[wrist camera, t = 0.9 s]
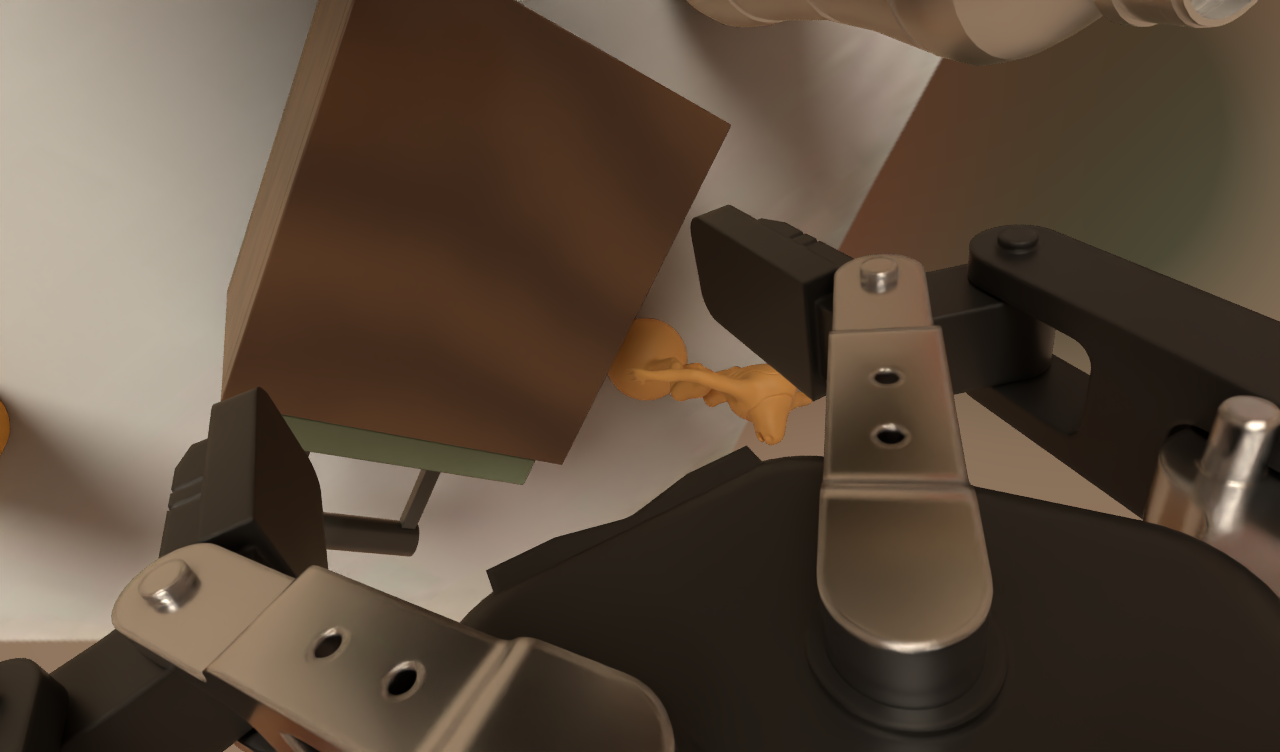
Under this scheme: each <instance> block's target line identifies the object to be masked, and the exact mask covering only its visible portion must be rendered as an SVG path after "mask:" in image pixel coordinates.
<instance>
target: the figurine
mask: <svg viewBox="0 0 1280 752" xmlns="http://www.w3.org/2000/svg"><path fill="white" fill-rule="evenodd" d="M608 375H609V378H610V379H611V381H612V383H613V384H614V385H615V386H616V388H617V389H618V390H620V391H621V392H622V393H624V394H625V395H627V396H629V397H631V398H634V399H638V400H655V399H658V398H661V397H664V396H666V395H667V394H669V393H670V392H671V396H672V398H673V399H675V400H677V401H685V400H687V399H691V398H701V397H703V399H704V401H705V403H706V404H707V405H708V406H709V407H714V406H716V405H718V404H720V403H724V402H728V403H729V406H730V408H731V409H732V411H733V412H734V413H735V414H736V415H738V416H739V417H741V418H743V419H746V420H748V421H751V422H753V424H754V428H755V432H756V436H757V438H758V439H759V440H760V441H761V442H764V441H765V442H766V443H767V444H768V445H774V444H777V443H779V442H780V441H781V440H782V439H783V437H784V434H785V428H786V422H787V418H788V414H789V412H790V411H791V410H793V409H795V408H796V407H801V406H805V405H808V404H810V403H811V402H812V400H811V399H810V398H809V397H807V396H806V395H805V394H804V393H803V392H797V387H795V386H794V385H793V384H792V383H790V382H789V381H788V380H787V379H786V378H784V377H783V376H782V375H781V374H780V373H778V372H777V371H776V370H775V369H774V368H772V367H771V366H770V365H769V364H757V365H750V366H747V367H744V368H741V367H737V366H736V367H732V368H730V369H728V370H722V371H719V372H713V371H712V370H710V369H708V368H706V367H703V365H702V364H701V363H692V364H687V351H686V347H685V344H684V342H683V340H682V338H681V337H680V335H679V334H678V333H677V332H676V331H675V330H674V329H673V328H672V327H671V326H670V325H668V324H666V323H664V322H662V321H660V320H656V319H651V318H642V319H636V320H634V321H633V323H632V325H631V327H630V329H629V331H628V334H627V336H626V338H625V340H624V342H623V344H622V346H621V348H620V350H619V352H618V354H617V356H616V358H615V360H614V362H613V364H612V366H611V368H610V370H609V372H608Z"/></svg>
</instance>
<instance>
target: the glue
mask: <svg viewBox="0 0 1280 752" xmlns="http://www.w3.org/2000/svg"><path fill="white" fill-rule="evenodd" d="M9 434H10V420H9V416H8V413H7V411H6V409H5V407H4V405H3V404H2V402H1V401H0V456H1V454H2V452H3V449H4V447H5V445H6V443H7V441H8V438H9Z"/></svg>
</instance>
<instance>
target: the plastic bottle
mask: <svg viewBox="0 0 1280 752" xmlns="http://www.w3.org/2000/svg"><path fill="white" fill-rule="evenodd" d="M686 1H687V2H688V3H689V4H690V5H692V6H693V7H694V8H695V9H696V10H698V11H700V12H701V13H703V14H705V15H707V16H708V17H710V18H712V19H714V20H716V21H718V22H720V23H722V24H724V25H728V26H733V27H755V26H766V25H772V24H776V23H779V22H783V21H786V20H829V21H833V22H838V23H842V24H847V25H851V26H855V27H860V28H864V29H869V30H873V31H876V32H879V33H881V34H884V35H886V36H889V37H891V38H894V39H896V40H899V41H902V42H904V43H907V44H909V45H912V46H914V47H917V48H919V49H922V50H924V51H927V52H930V53H933V54H935V55H936V56H940V57H944V58H949V59H952V60H955V61H959V62H963V63H967V64H972V65H976V66H980V65H993V64H999V63H1003V62H1009V61H1014V60H1018V59H1023V58H1026V57H1029V56H1031V55H1035V54H1038V53H1040V52H1042V51H1044V50H1046V49H1048V48H1050V47H1052V46H1054V45H1056V44H1057V43H1059V42H1061V41H1063V40H1065V39H1067V38H1069V37H1070V36H1072V35H1074V34H1076V33H1077V32H1079V31H1080V30H1082V29H1084V28H1085V27H1087V26H1089V25H1090V24H1092V23H1093V22H1094V21H1096V20H1097V19H1099V18H1100V17H1102V16H1105V17H1106V18H1107V19H1109V20H1110V21H1111V22H1114V23H1118V24H1120V25H1127V26H1136V27H1145V26H1153V25H1156V24H1167V25H1175V26H1184V27H1192V28H1206V27H1218V26H1221V25H1224V24H1227V23H1229V22H1232V21H1233V20H1235V19H1236V18H1238V17H1239V16H1241V15H1243V14H1244V13H1245V12H1246V11H1247V10H1248V9H1250V7H1252V6H1253V5H1254V4H1255V3H1256V2H1257V1H1258V0H686Z"/></svg>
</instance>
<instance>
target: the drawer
mask: <svg viewBox="0 0 1280 752" xmlns="http://www.w3.org/2000/svg"><path fill="white" fill-rule="evenodd" d="M281 415H282V414H281ZM282 416H283V418H284V420H285V421H286V423H287V424H288V426H289V428H290V429H291V431H292V432H293V434H294V435H295V437H296V439H297V440H298V442H299V443H300V445H301V447H302V448H303V450H304V451H305V453H306V454H307V456H309V454H310V452H316V453H322V454H328V455H335V456H341V457H348V458H354V459H360V460H367V461H373V462H380V463H386V464H392V465H399V466H405V467H412V468H418V469H421V472H420V474H419V476H418V479H417V481H416V483H415V486H414V488H413V490H412V493H411V495H410V497H409V499H408V502H407V504H406V506H405V509H404V511H403V513H402V516H401V518H400V521H398V520H389V519H380V518H371V517H363V516H354V515H345V514H336V513H327V512H323V519H324V530H325V541H326V549H329V550H341V551H352V552H364V553H376V554H387V555H399V556H412V555H413V554H414V552H415V550H416V548H417V545H418V541H419V526H418V522H419V520H420V517H421V515H422V513H423V511H424V508H425V506H426V504H427V502H428V499H429V497H430V495H431V493H432V490H433V488H434V486H435V484H436V481H437V479H438V477H439V475H440V472H444V473H450V474H456V475H463V476H469V477H476V478H482V479H488V480H495V481H501V482H508V483H514V484H520V485H523V484H524V483H525V481H526V479H527V477H528V475H529V473H530V470H531V468H532V466H533V464H534V462H535V460H532V459H527V458H521V457H516V456H510V455H505V454H499V453H494V452H488V451H482V450H477V449H471V448H466V447H460V446H455V445H449V444H444V443H438V442H432V441H427V440H421V439H416V438H410V437H405V436H399V435H394V434H388V433H382V432H377V431H371V430H366V429H360V428H355V427H349V426H344V425H338V424H332V423H327V422H321V421H316V420H310V419H305V418H299V417H293V416H288V415H282Z"/></svg>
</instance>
